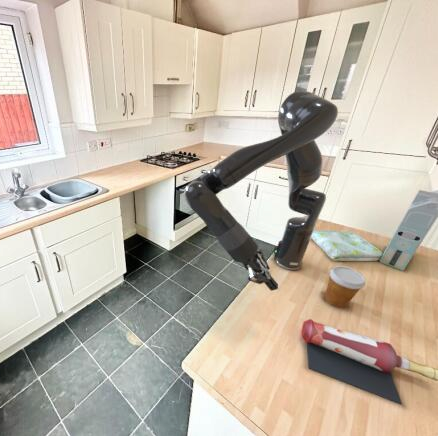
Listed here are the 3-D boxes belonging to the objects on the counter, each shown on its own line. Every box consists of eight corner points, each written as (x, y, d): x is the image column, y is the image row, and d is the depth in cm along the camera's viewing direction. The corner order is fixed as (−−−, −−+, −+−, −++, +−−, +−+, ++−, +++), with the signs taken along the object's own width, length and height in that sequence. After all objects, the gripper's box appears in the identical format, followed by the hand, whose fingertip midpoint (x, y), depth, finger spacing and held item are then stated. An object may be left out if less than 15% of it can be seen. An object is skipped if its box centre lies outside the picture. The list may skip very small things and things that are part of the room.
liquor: (304, 342, 67) (447, 394, 55) (308, 315, 70) (446, 360, 57) (299, 341, 74) (426, 388, 61) (303, 317, 76) (426, 357, 63)
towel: (382, 262, 103) (387, 252, 100) (331, 262, 103) (335, 252, 101) (350, 238, 119) (355, 229, 116) (307, 238, 119) (310, 229, 117)
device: (387, 247, 112) (421, 186, 97) (410, 255, 107) (450, 191, 92) (378, 262, 103) (414, 197, 88) (403, 271, 98) (445, 204, 83)
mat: (308, 368, 65) (308, 367, 65) (305, 332, 74) (306, 331, 74) (401, 404, 57) (401, 403, 57) (385, 359, 67) (385, 358, 67)
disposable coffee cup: (348, 295, 87) (362, 269, 81) (355, 315, 79) (371, 288, 74) (317, 287, 91) (328, 262, 85) (321, 306, 83) (333, 279, 77)
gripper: (244, 248, 58) (288, 301, 59) (250, 223, 68) (288, 269, 69) (219, 259, 63) (260, 308, 64) (228, 234, 73) (264, 277, 74)
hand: (274, 288), depth 67 cm, fingers closed
